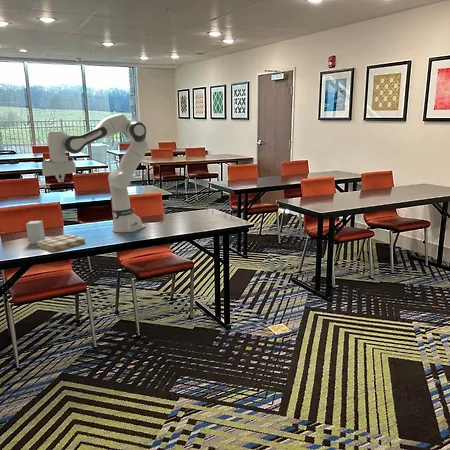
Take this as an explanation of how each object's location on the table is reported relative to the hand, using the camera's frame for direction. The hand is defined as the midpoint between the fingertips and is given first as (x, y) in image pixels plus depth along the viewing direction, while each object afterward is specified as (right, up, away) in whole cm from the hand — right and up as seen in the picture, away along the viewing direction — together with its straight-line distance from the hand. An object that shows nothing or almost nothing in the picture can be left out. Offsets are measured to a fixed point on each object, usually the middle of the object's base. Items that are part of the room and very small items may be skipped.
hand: (60, 182), depth 251 cm
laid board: (+7, -38, -10) cm, 40 cm away
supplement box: (-14, -37, 0) cm, 39 cm away
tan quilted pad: (0, -37, -5) cm, 37 cm away
